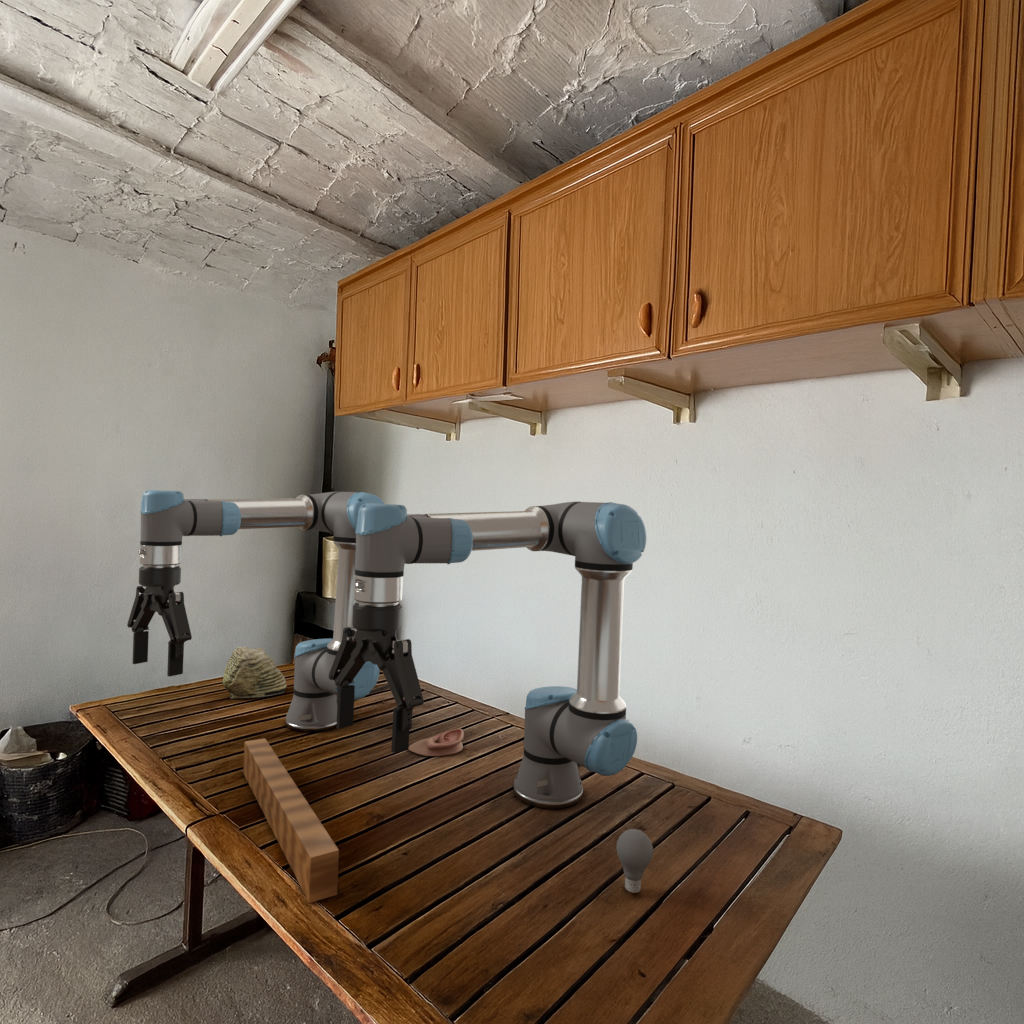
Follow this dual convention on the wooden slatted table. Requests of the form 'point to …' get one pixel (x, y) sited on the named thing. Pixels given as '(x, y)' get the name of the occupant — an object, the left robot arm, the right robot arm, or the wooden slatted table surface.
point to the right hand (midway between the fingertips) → (371, 738)
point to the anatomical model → (439, 744)
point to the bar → (292, 822)
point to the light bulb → (634, 857)
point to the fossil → (252, 674)
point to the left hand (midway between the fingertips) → (157, 668)
